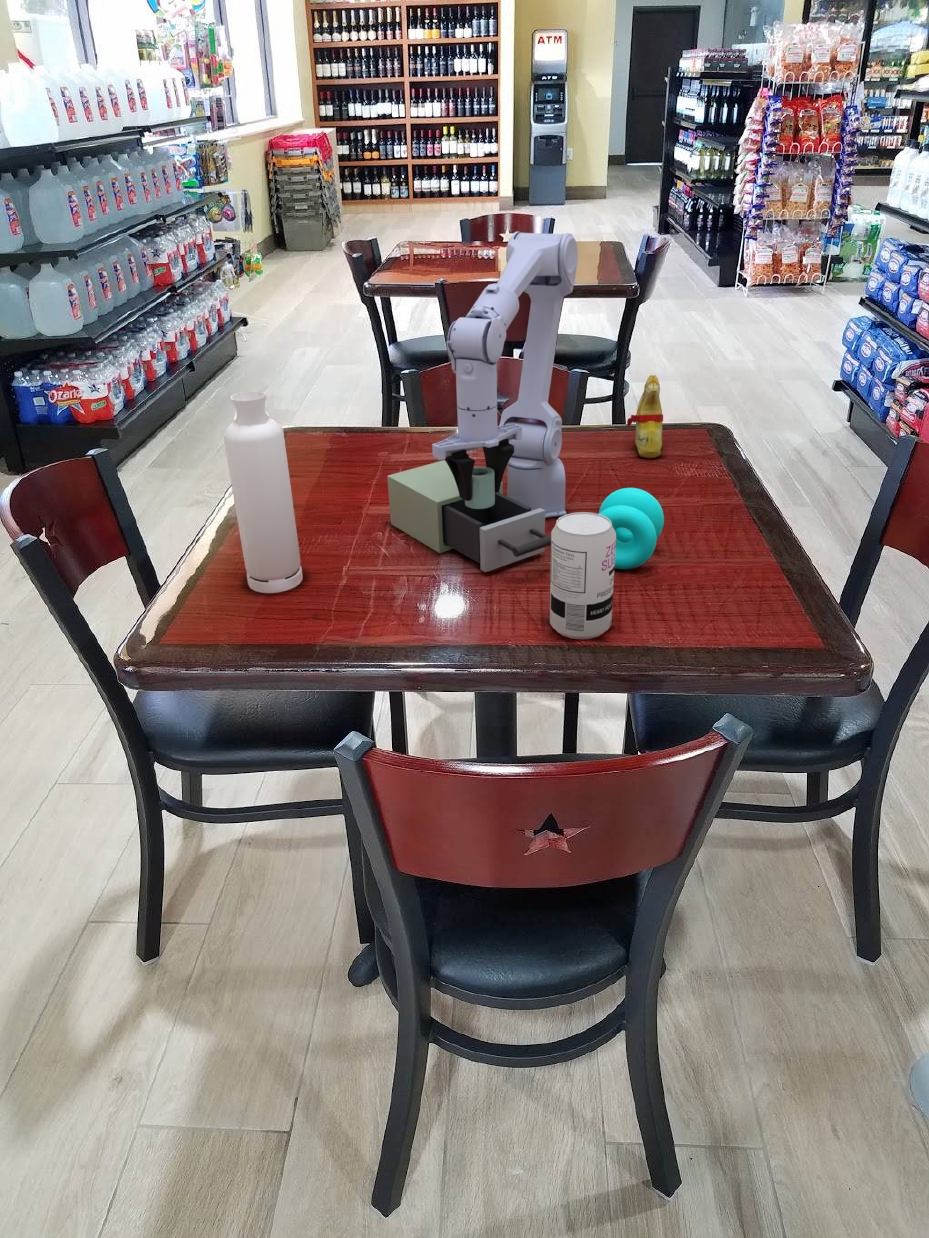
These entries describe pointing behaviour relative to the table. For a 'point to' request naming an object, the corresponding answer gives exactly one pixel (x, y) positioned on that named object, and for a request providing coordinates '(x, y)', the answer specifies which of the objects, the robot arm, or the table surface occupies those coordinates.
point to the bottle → (262, 495)
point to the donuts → (633, 525)
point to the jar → (482, 488)
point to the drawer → (495, 531)
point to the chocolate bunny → (649, 420)
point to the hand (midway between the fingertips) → (479, 494)
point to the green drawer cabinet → (423, 502)
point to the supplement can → (582, 575)
